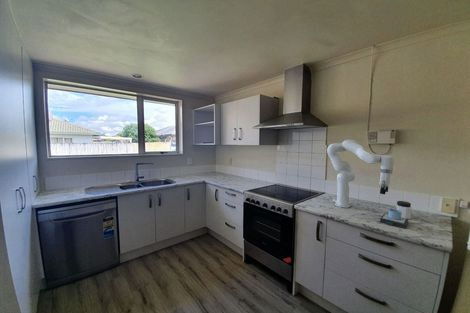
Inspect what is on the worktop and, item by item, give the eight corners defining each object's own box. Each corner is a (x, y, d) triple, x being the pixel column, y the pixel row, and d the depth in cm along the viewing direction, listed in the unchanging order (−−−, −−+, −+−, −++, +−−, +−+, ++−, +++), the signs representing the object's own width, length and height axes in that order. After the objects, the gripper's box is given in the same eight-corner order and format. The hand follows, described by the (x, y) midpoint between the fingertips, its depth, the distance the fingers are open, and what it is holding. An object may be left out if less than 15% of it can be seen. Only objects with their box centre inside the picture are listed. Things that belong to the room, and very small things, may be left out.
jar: (402, 214, 153) (403, 200, 152) (413, 218, 145) (414, 203, 144) (392, 215, 152) (393, 200, 151) (402, 219, 144) (403, 204, 143)
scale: (379, 222, 138) (380, 218, 138) (384, 217, 149) (384, 212, 148) (405, 229, 128) (405, 224, 127) (407, 222, 138) (408, 218, 138)
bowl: (387, 217, 139) (387, 210, 138) (388, 215, 144) (389, 208, 143) (400, 220, 133) (400, 213, 133) (401, 218, 138) (402, 210, 138)
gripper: (382, 169, 152) (380, 189, 154) (377, 171, 141) (375, 193, 143) (394, 170, 147) (392, 191, 148) (390, 173, 135) (387, 196, 137)
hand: (384, 192), depth 146 cm, fingers open, 9 cm apart
